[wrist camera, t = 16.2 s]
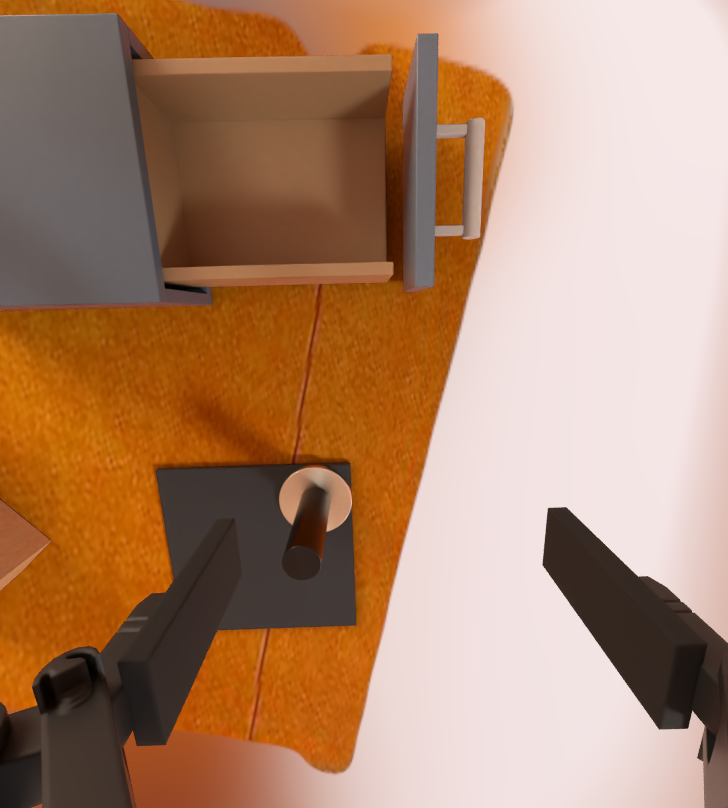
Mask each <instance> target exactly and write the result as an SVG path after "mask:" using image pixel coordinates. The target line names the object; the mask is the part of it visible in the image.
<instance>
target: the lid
mask: <svg viewBox="0 0 728 808" xmlns="http://www.w3.org/2000/svg"><path fill="white" fill-rule="evenodd" d="M279 504H280V508H281V511H282V513H283V515H284V517H285V518H286V519H287V521H288V522H289V523H290V524H291V525H292V528H291V532H290V535H289V538H288V541H287V545H286V548H285V551H284V554H283V558H282V567H283V569H284V571H285V573H286V574H287V575H288V576H290V577H291V578H293V579H296V580H308V579H311V578H313V577H315V576H316V575H317V574H318V573H319V571H320V569H321V565H322V559H323V552H324V545H325V538H326V532H328V531H331V530H333V529H335V528H337V527H338V526H339V525H341V524H342V523H343V522H344V521H345V519H346V518H347V517H348V515H349V513H350V510H351V506H352V493H351V489H350V486H349V484H348V483H347V481H346V480H345V478H344V477H343V476H342V475H341V474H340V473H338V472H337V471H335V470H333V469H331V468H329V467H326V466H321V465H309V466H305V467H302V468H299V469H297V470H296V471H294V472H293V473H291V474H290V475H289V476H288V477H287V479H286V480H285V482H284V483H283V486H282V488H281V491H280V495H279Z"/></svg>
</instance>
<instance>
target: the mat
mask: <svg viewBox="0 0 728 808" xmlns="http://www.w3.org/2000/svg"><path fill="white" fill-rule="evenodd" d="M309 465H321V466H326V467H329V468H331V469H333V470H335V471H337V472H338V473H340V474H341V475H342V476H343V477H344V478H345V480H346V481H347V483H348V484H349V486H350V489H351V472H350V463H320V464H287V465H254V466H221V467H188V468H158V469H157V470H156V475H157V481H158V487H159V493H160V499H161V505H162V511H163V517H164V522H165V528H166V534H167V540H168V546H169V552H170V558H171V564H172V570H173V576H174V580H175V578H176V577H177V575H178V574H179V572H180V571H181V570H182V568H183V567H184V565H185V564H186V562H187V561H188V560H189V558H190V557H191V555H192V554H193V552H194V551H195V549H196V548H197V547H198V545H199V544H200V542H201V541H202V539H203V538H204V536H205V535H206V534H207V532H208V531H209V529H210V528H211V526H212V525H213V523H214V522H215V521H216V519H226V518H235V523H236V530H237V538H238V546H239V553H240V561H241V569H242V576H241V579H240V581H239V583H238V585H237V587H236V590H235V592H234V594H233V596H232V599H231V601H230V603H229V605H228V607H227V610H226V612H225V614H224V616H223V619H222V621H221V623H220V625H219V627H218V630H235V629H264V628H293V627H322V626H350V625H356V608H355V581H354V553H353V526H352V506H351V510H350V513H349V515H348V517H347V518H346V519H345V521H344V522H343V523H342V524H341V525H339V526H338V527H337V528H335V529H333V530H331V531H328V532H326V538H325V545H324V552H323V559H322V565H321V569H320V571H319V573H318V574H317V575H316V576H315V577H313V578H311V579H308V580H296V579H293V578H291V577H290V576H288V575H287V574H286V573H285V571H284V569H283V567H282V558H283V554H284V551H285V548H286V545H287V541H288V538H289V535H290V532H291V528H292V525H291V524H290V523H289V522H288V521H287V519H286V518H285V517H284V515H283V513H282V511H281V508H280V504H279V495H280V491H281V488H282V486H283V483H284V482H285V480H286V479H287V477H288V476H289V475H290V474H291V473H293V472H294V471H296V470H297V469H299V468H302V467H305V466H309Z"/></svg>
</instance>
